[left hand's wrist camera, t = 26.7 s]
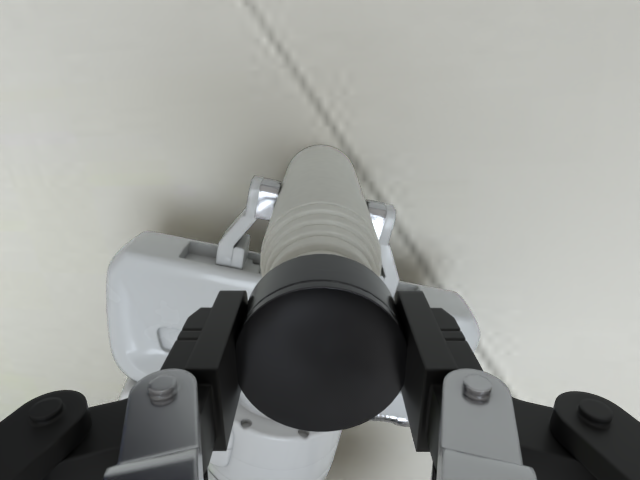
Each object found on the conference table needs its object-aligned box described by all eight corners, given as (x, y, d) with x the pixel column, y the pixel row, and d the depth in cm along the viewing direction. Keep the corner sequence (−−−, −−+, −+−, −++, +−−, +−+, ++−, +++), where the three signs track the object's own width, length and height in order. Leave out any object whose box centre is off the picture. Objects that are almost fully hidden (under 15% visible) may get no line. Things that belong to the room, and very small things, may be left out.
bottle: (335, 131, 27) (359, 235, 10) (368, 193, 29) (438, 376, 12) (271, 166, 28) (196, 318, 11) (307, 226, 29) (289, 440, 12)
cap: (419, 348, 13) (436, 395, 11) (291, 401, 14) (286, 453, 12) (356, 225, 11) (363, 256, 10) (216, 293, 12) (197, 333, 10)
